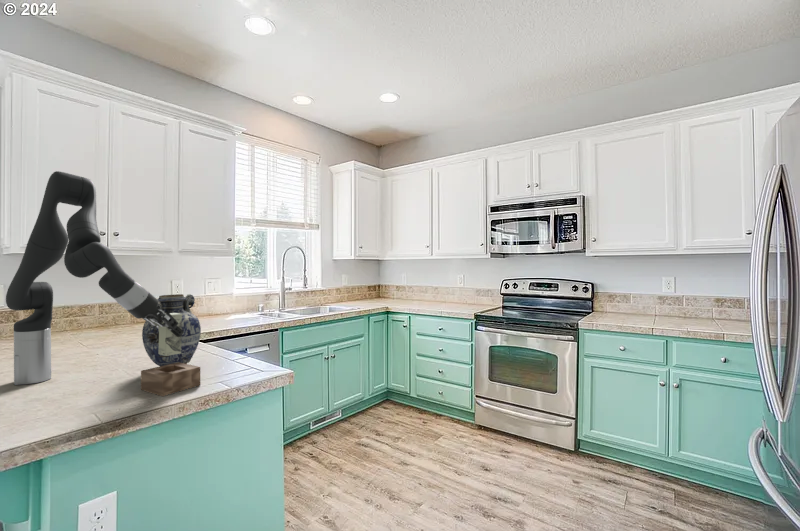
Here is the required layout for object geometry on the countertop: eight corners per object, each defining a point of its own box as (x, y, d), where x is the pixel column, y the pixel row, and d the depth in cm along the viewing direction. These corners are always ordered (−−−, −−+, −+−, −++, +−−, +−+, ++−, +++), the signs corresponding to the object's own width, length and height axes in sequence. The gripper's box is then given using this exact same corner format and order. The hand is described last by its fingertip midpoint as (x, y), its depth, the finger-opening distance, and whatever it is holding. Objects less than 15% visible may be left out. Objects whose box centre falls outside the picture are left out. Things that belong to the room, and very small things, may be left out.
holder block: (162, 396, 118) (162, 376, 118) (141, 389, 124) (140, 370, 124) (200, 385, 128) (200, 367, 128) (178, 379, 134) (178, 362, 134)
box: (165, 356, 123) (165, 315, 122) (158, 354, 125) (158, 313, 125) (182, 353, 127) (182, 313, 127) (174, 351, 129) (175, 312, 129)
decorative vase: (172, 380, 133) (171, 297, 133) (126, 378, 137) (124, 297, 137) (214, 365, 154) (213, 292, 154) (173, 363, 157) (172, 293, 157)
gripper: (158, 290, 116) (197, 326, 126) (133, 289, 123) (172, 323, 134) (139, 310, 111) (181, 346, 122) (113, 307, 118) (155, 341, 129)
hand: (176, 333), depth 128 cm, fingers closed on box, 4 cm apart
